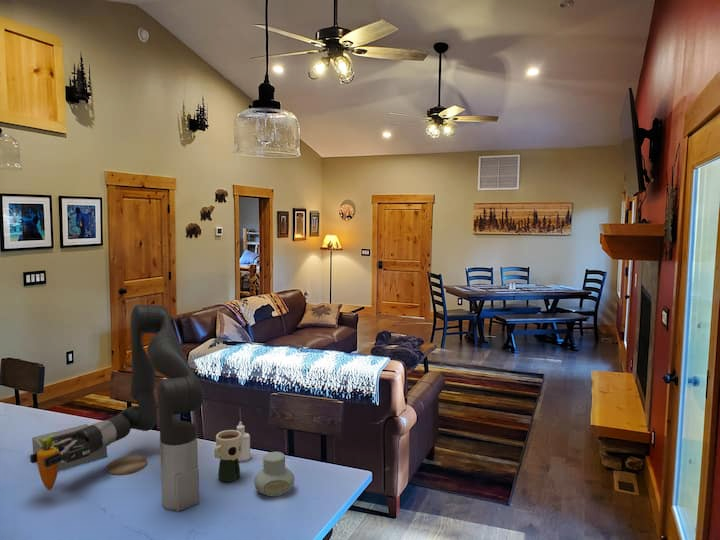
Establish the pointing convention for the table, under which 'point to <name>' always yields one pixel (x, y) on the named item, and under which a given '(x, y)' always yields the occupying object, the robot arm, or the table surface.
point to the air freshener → (274, 475)
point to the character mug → (228, 454)
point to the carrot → (46, 473)
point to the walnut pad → (127, 465)
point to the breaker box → (65, 435)
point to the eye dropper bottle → (244, 443)
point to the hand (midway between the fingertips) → (38, 461)
